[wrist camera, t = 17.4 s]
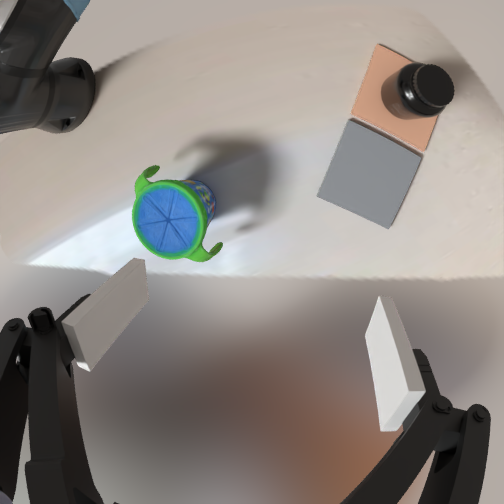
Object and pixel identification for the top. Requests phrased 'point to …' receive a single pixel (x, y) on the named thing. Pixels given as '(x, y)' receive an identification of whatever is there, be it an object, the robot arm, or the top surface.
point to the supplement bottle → (417, 91)
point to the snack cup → (173, 217)
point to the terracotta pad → (373, 108)
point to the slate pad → (368, 175)
